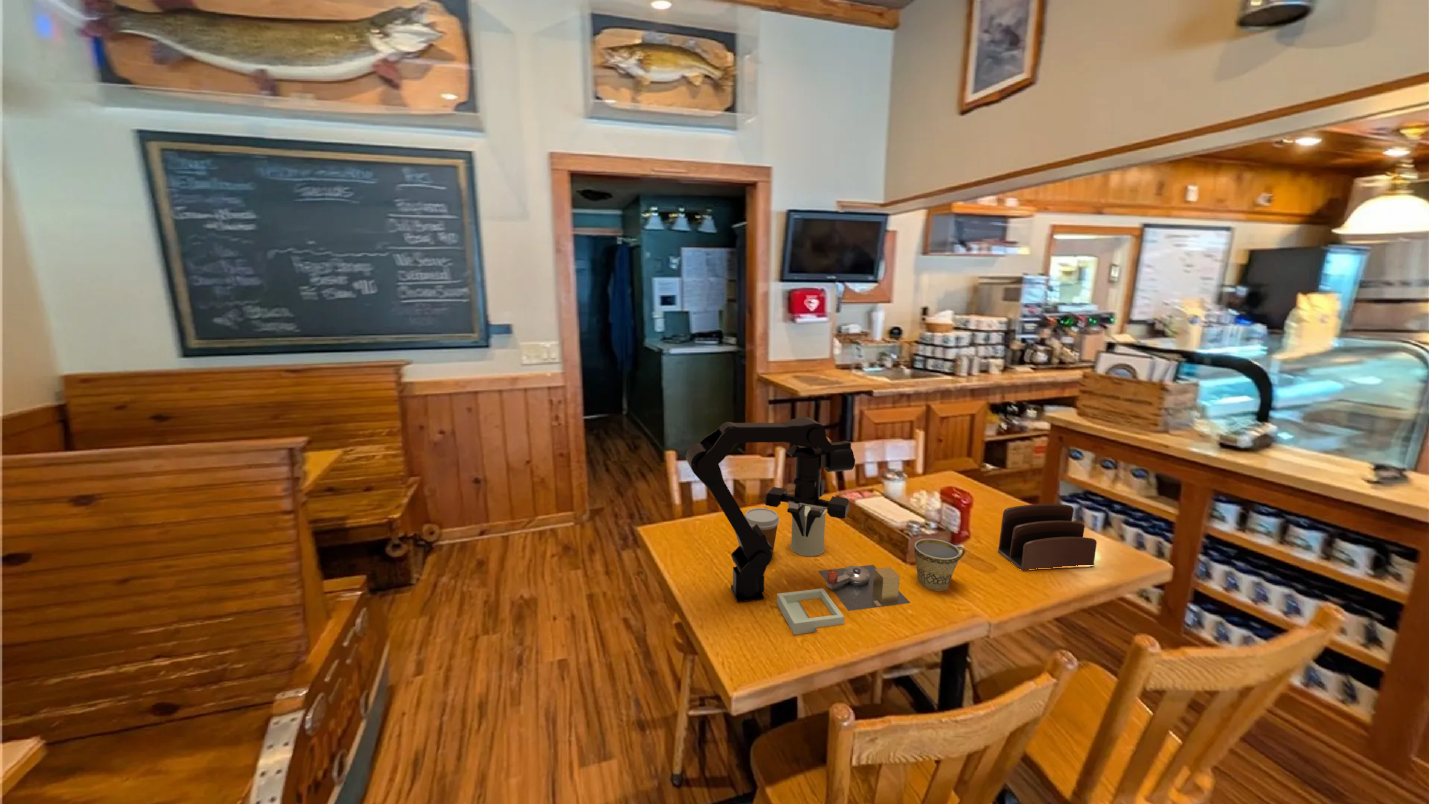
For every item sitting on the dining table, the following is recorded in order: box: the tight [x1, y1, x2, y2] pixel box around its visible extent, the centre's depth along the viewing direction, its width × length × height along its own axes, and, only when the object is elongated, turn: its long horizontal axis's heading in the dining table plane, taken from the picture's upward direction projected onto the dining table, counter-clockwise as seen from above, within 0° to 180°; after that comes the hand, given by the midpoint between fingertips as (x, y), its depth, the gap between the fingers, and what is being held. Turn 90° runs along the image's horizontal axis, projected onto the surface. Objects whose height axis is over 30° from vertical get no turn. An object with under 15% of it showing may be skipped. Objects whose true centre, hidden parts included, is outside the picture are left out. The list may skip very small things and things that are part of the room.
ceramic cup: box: [913, 538, 966, 592], centre depth 126 cm, size 13×10×10 cm
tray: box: [776, 588, 845, 636], centre depth 115 cm, size 11×11×3 cm
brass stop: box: [873, 566, 901, 602], centre depth 121 cm, size 4×4×6 cm
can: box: [790, 506, 827, 557], centre depth 144 cm, size 9×9×12 cm
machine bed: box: [818, 564, 911, 612], centre depth 125 cm, size 15×17×2 cm
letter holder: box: [997, 503, 1098, 571], centre depth 138 cm, size 10×20×14 cm, turn 95°
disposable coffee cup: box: [744, 507, 780, 557], centre depth 140 cm, size 10×10×12 cm
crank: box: [825, 565, 869, 590], centre depth 126 cm, size 12×6×4 cm, turn 122°
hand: (805, 536), depth 124 cm, fingers closed
